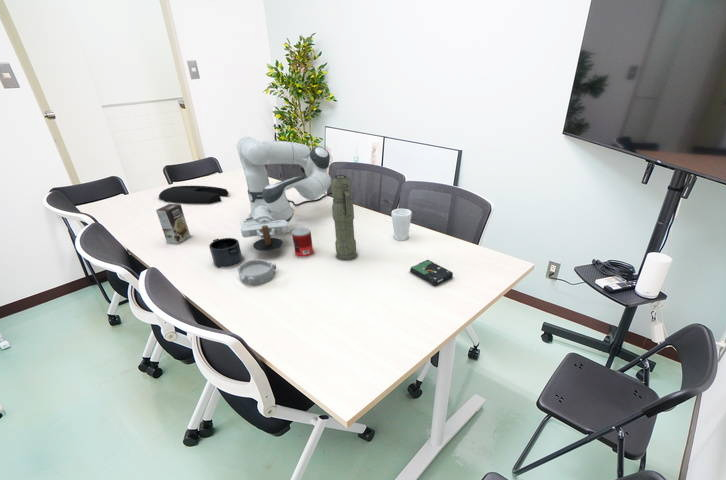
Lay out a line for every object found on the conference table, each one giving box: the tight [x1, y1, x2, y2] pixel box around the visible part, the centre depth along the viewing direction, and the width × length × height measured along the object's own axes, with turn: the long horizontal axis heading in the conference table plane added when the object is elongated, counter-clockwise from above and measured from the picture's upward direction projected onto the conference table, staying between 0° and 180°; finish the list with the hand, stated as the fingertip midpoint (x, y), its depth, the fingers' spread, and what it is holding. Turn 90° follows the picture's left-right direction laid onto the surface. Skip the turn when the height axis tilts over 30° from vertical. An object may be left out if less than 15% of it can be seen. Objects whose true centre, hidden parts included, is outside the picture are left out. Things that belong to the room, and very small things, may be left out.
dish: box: [237, 259, 277, 286], centre depth 155 cm, size 14×14×5 cm
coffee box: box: [155, 203, 191, 245], centre depth 181 cm, size 9×6×16 cm
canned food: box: [291, 227, 314, 258], centre depth 171 cm, size 8×8×11 cm
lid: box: [253, 225, 284, 252], centre depth 168 cm, size 12×12×9 cm
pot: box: [208, 237, 244, 269], centre depth 165 cm, size 11×17×8 cm
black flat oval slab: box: [158, 185, 229, 205], centre depth 234 cm, size 25×41×5 cm, turn 82°
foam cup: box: [390, 208, 413, 241], centre depth 186 cm, size 10×9×13 cm
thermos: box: [330, 174, 357, 261], centre depth 163 cm, size 9×12×35 cm
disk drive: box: [409, 259, 454, 287], centre depth 159 cm, size 10×3×15 cm
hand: (266, 235), depth 167 cm, fingers closed on lid, 2 cm apart
